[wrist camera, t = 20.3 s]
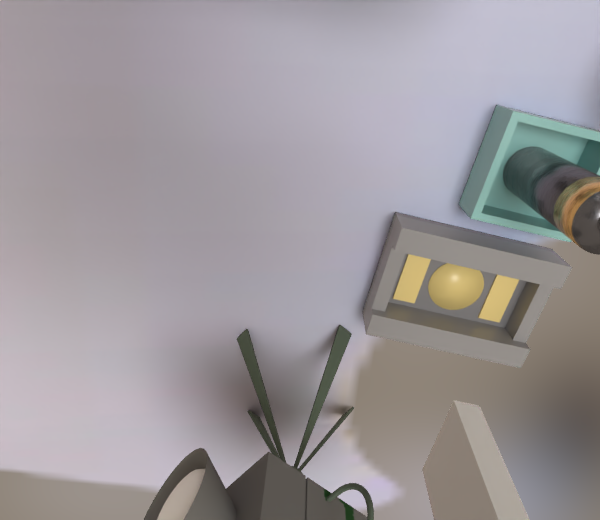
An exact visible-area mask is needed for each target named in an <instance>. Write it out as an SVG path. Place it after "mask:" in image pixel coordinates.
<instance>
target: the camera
mask: <svg viewBox="0 0 600 520" xmlns="http://www.w3.org/2000/svg"><path fill="white" fill-rule="evenodd" d="M350 337H351V333H350V332H349V331H347V330H346V329H345V328H343V327H342V326H341V325H339V327H338V330H337V333H336V337H335V340H334V343H333V346H332V349H331V352H330V355H329V358H328V361H327V365H326V368H325V371H324V374H323V377H322V380H321V383H320V386H319V390H318V393H317V396H316V399H315V402H314V405H313V408H312V411H311V414H310V418H309V421H308V424H307V427H306V430H305V433H304V436H303V439H302V443H301V446H300V449H299V452H298V455H297V458H296V461H295V464H294V466H290V465H288V464H287V463H286V461H285V457H284V454H283V450H282V447H281V443H280V440H279V436H278V433H277V429H276V426H275V422H274V419H273V415H272V412H271V408H270V405H269V401H268V398H267V394H266V391H265V387H264V384H263V380H262V377H261V373H260V370H259V367H258V363H257V360H256V356H255V353H254V349H253V346H252V342H251V339H250V335H249V332H248V329H246V330H245V331H244V332H243V333H242V334H241V335H240V336H239V337H238V338H237V340H238V343H239V346H240V349H241V352H242V354H243V357H244V360H245V363H246V365H247V368H248V371H249V374H250V376H251V379H252V382H253V385H254V387H255V390H256V393H257V396H258V398H259V401H260V404H261V407H262V410H263V412H264V415H265V418H266V421H267V423H268V426H269V429H270V432H271V434H272V437H273V440H274V443H275V445H276V448H277V451H278V453H277V451H276V449H275V447H274V445H273V443H272V441H271V439H270V437H269V435H268V433H267V431H266V429H265V427H264V425H263V423H262V421H261V419H260V417H258V416H257V415H255V414H254V413H253V412H251V411H250V410H249V411H248V413H249V415H250V417H251V418H252V420H253V422H254V423H255V425H256V427H257V429H258V430H259V432H260V434H261V435H262V437H263V439H264V441H265V442H266V444H267V446H268V447H269V449H270V451H271V453H270V452H268V453H267V454H265V455H264V456H263V457H262V458H261V459H260V460H259V461H257V462H256V463H255V464H254V465H253V466H252V467H251V468H249V469H248V470H247V471H246V472H245V473H244V474H242V475H241V476H240V477H239V478H238V479H237V480H236V481H234V482H233V483H232V484H231V485H230V486H229V487H228V488H226V489H225V487H224V485H223V483H222V481H221V479H220V477H219V475H218V473H217V471H216V469H215V468H214V466H213V464H212V462H211V460H210V458H209V456H208V454H207V452H206V451H205V450H204V449H202V448H199V449H196V450H194V451H193V452H191V453H190V454H189V455H188V456H186V457H185V458H184V459H183V460H182V461H181V462H180V463H179V465H178V466H177V467H176V468H175V469H174V471H173V472H172V473H171V474H170V476H169V477H168V479H167V480H166V481H165V483H164V484H163V486H162V487H161V489H160V490H159V492H158V494H157V495H156V497H155V499H154V500H153V502H152V504H151V506H150V508H149V510H148V511H147V514H146V516H145V518H144V520H374V510H373V503H372V500H371V497H370V495H369V493H368V491H367V490H366V489H365V488H364V487H363V486H361V485H359V484H356V483H349V484H345V485H343V486H341V487H339V488H338V489H337V490H336V491H334V492H333V493H330V492H329V491H327V490H326V489H324V488H323V487H321V486H320V485H318V484H317V483H315V482H314V481H312V480H311V479H309V478H307V479H305V475H303V474H302V472H301V470H302V469H303V468H304V467H305V466H306V464H307V463H308V462H309V461H310V460H311V459H312V457H313V456H314V455H315V454H316V453H317V451H318V450H319V449H320V448H321V447H322V446H323V444H324V443H325V442H326V441H327V440H328V438H329V437H330V436H331V435H332V434H333V433H334V431H335V430H336V429H337V428H338V427H339V426H340V424H341V423H342V422H343V421H344V420H345V418H346V417H347V416H348V415H349V414H350V413H351V411H352V410H353V409H354V407H352V408H351V409H349V410H348V411H347V412H346V413H345V414H343V416H342V417H341V418H340V419H339V420H338V422H337V423H336V424H335V425H334V426H333V428H332V429H331V430H330V431H329V432H328V434H327V435H326V436H325V437H324V439H323V440H322V441H321V442H320V443H319V445H318V446H317V447H316V448H315V449H314V451H313V452H312V453H311V454H310V456H309V457H308V458H307V459H306V460H305V462H304V463H303V464H302V465H301V466H300V468H299V469H298V468H297V467H298V465H299V462H300V460H301V457H302V455H303V452H304V450H305V447H306V445H307V443H308V440H309V438H310V435H311V433H312V430H313V428H314V425H315V423H316V420H317V418H318V416H319V413H320V411H321V408H322V406H323V403H324V401H325V398H326V396H327V393H328V391H329V389H330V386H331V384H332V381H333V379H334V376H335V374H336V371H337V369H338V366H339V364H340V362H341V359H342V357H343V354H344V352H345V349H346V347H347V344H348V342H349V339H350ZM278 454H279V455H278ZM279 456H280V457H279ZM351 489H354V490H358V491H359V492H361V493H362V495H363V496H364V498H365V500H366V504H367V512H368V516H367V517H366V516H365V515H363V514H362V513H360V512H359V511H357V510H356V509H354V508H353V507H351V506H350V505H348V504H347V503H345V502H344V501H342V500H341V499H339V498H338V497H337V496H339V495H340V494H341V493H343V492H344V491H347V490H351Z"/></svg>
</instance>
